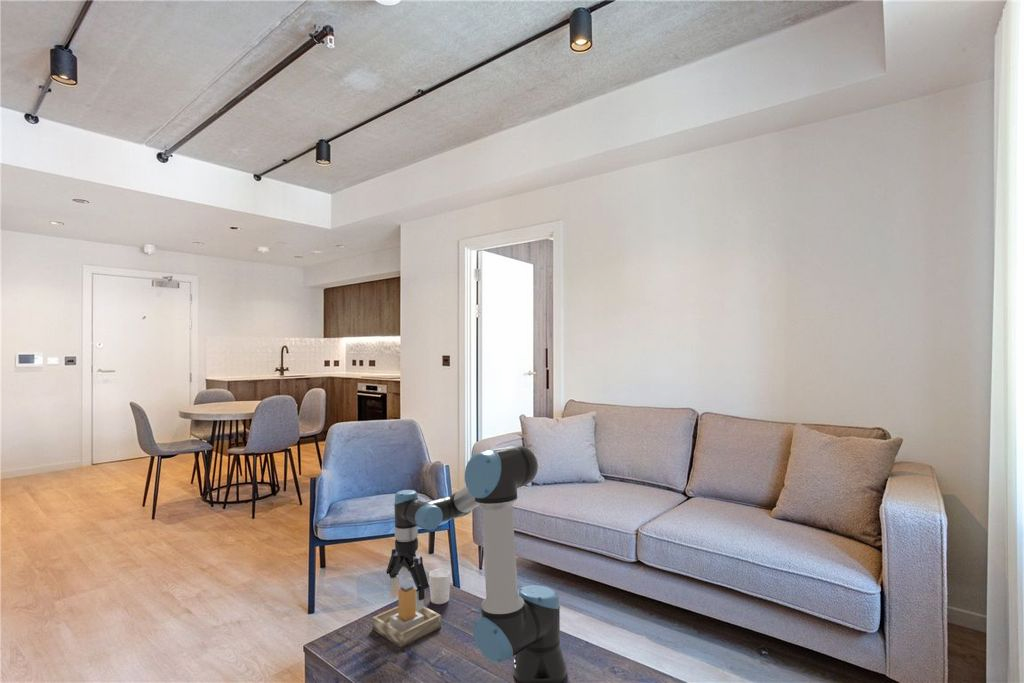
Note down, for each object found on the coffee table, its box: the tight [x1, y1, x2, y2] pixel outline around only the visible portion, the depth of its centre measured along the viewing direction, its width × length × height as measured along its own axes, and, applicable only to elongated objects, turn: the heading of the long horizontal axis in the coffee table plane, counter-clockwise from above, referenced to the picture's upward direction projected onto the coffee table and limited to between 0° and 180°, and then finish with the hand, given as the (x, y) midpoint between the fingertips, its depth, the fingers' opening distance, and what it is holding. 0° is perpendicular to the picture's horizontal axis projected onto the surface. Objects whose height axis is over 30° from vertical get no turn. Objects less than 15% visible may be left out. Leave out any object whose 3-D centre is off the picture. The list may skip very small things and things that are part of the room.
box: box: [371, 605, 442, 648], centre depth 170 cm, size 16×16×4 cm
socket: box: [390, 612, 424, 632], centre depth 170 cm, size 8×8×3 cm
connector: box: [397, 583, 416, 622], centre depth 170 cm, size 4×4×13 cm
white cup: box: [428, 568, 451, 605], centre depth 189 cm, size 8×8×10 cm
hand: (407, 602), depth 170 cm, fingers open, 13 cm apart
